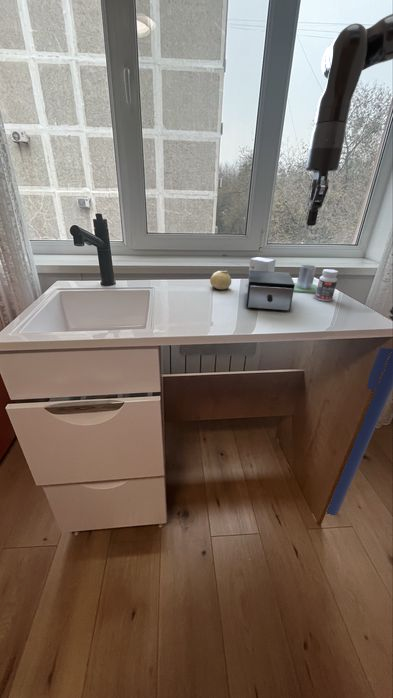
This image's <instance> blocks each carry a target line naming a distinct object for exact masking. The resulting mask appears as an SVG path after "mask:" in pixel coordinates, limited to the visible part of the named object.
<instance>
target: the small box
mask: <svg viewBox="0 0 393 698" xmlns="http://www.w3.org/2000/svg"><path fill="white" fill-rule="evenodd" d="M275 267H276V259H273V258H266V257H262V256H256V257H252V258H250V259H249V268H248V271H249V270H253V271H269V272H275V269H276V268H275ZM248 279H249V277H248ZM248 279H247V280H248Z"/></svg>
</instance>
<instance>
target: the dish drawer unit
mask: <svg viewBox="0 0 393 698" xmlns="http://www.w3.org/2000/svg"><path fill="white" fill-rule="evenodd" d="M248 278H249V279H247V289H246V303H245V308H246V309H253V310H254V309H256V310H267V311H279V312H291V306H292V301H293V296H294V292H293V291H294V286H295V284H294V283H295V282H294V280H293V277H292V276H291V273H290V272H286V271H285V272H283V271H274V272H269V271H253V270H249V269H248ZM252 284H256V285H271V286H286V287H289V288H293V291H292V296H291V301H290V307H289V310H278V309H265V308H252V307H248V303H249V294H250V286H251V285H252Z"/></svg>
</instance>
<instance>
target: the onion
mask: <svg viewBox="0 0 393 698" xmlns="http://www.w3.org/2000/svg"><path fill="white" fill-rule="evenodd" d="M209 280H210V281H209V282H210V285H211V287H212V288H214V289H217V290H219V291H220V290H221V291H222V290H227V289H228V288H229V287H231V285H232V277H231V275H230V274H229V272H228V269H226V270H217V271H215V272H213V274H212V275H211V276H210V279H209Z"/></svg>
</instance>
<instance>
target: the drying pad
mask: <svg viewBox="0 0 393 698" xmlns="http://www.w3.org/2000/svg"><path fill="white" fill-rule="evenodd" d="M294 284H295V286H294V291H293V293H305V294H316V291H317V285H316V284H312V288H311V289H300V288H297V282H294Z"/></svg>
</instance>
